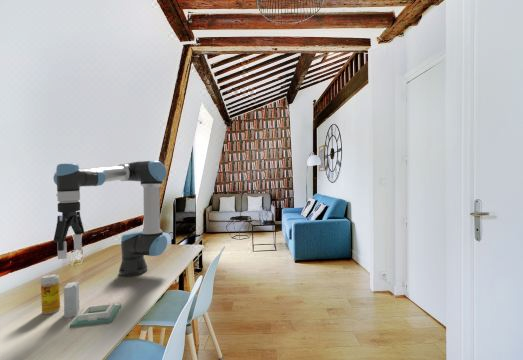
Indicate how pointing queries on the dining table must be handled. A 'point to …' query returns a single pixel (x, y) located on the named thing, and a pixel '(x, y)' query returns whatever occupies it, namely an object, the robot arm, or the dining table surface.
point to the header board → (96, 315)
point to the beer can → (50, 293)
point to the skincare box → (71, 299)
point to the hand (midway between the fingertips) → (70, 253)
